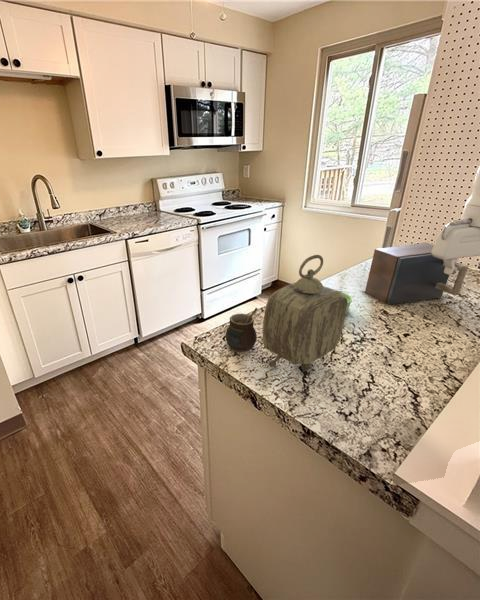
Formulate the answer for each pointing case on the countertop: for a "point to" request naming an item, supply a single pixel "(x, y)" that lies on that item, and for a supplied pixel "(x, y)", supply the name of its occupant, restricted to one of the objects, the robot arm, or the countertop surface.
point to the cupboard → (390, 267)
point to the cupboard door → (422, 279)
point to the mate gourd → (241, 332)
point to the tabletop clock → (304, 319)
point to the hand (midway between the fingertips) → (466, 271)
